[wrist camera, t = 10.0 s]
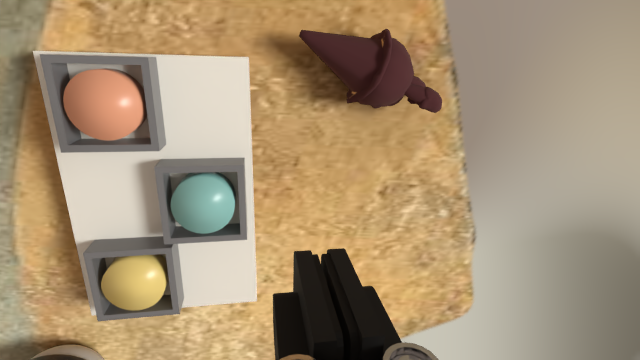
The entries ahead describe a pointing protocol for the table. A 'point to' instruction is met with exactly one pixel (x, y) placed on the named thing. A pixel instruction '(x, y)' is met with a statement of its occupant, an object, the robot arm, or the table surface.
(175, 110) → the button panel
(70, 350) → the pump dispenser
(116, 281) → the button ochre
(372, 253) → the table surface
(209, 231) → the button teal
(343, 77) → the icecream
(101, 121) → the button terracotta
